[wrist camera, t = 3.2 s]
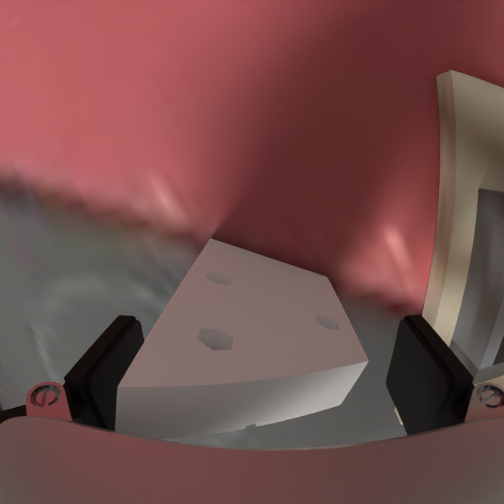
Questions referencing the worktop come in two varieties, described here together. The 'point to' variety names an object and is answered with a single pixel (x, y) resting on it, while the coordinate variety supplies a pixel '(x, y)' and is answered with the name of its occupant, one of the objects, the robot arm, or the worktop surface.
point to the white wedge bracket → (240, 350)
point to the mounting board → (470, 227)
